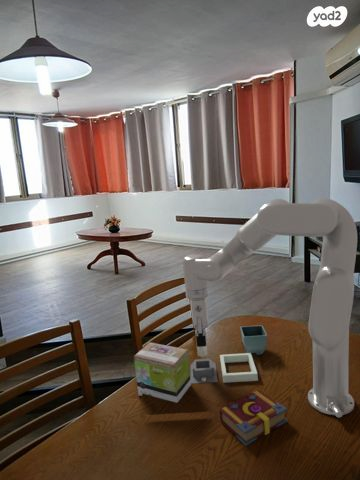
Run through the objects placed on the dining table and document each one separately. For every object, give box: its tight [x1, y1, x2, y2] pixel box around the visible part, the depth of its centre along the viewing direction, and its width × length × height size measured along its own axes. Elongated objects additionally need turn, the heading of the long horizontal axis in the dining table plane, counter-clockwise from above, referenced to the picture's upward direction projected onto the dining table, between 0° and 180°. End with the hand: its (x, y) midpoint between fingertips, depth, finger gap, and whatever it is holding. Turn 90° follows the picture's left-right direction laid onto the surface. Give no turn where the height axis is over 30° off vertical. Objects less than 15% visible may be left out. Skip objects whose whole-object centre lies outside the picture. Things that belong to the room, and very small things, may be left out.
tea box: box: [133, 341, 192, 403], centre depth 114 cm, size 15×10×15 cm, turn 62°
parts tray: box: [219, 352, 259, 384], centre depth 121 cm, size 13×11×4 cm
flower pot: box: [239, 324, 268, 356], centre depth 134 cm, size 9×9×9 cm
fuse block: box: [190, 358, 218, 384], centre depth 122 cm, size 12×9×4 cm
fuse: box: [194, 328, 208, 357], centre depth 120 cm, size 4×4×9 cm
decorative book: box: [219, 389, 288, 447], centre depth 98 cm, size 11×16×5 cm
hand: (201, 342), depth 120 cm, fingers closed on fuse, 3 cm apart
